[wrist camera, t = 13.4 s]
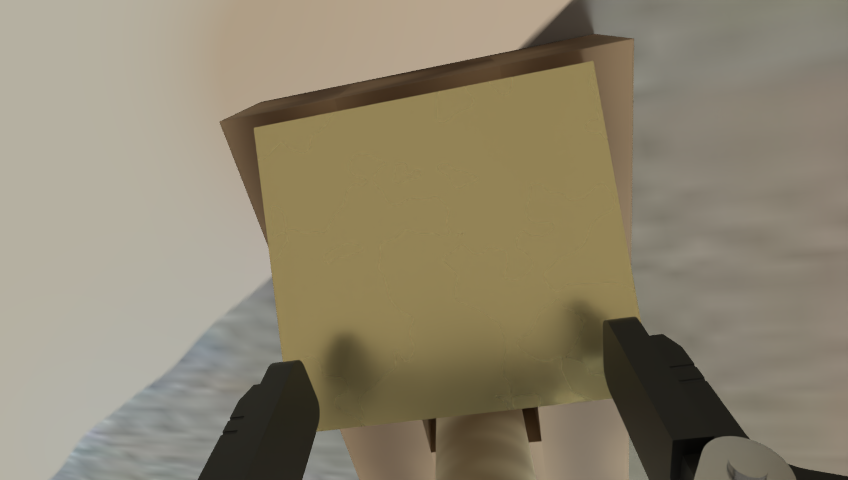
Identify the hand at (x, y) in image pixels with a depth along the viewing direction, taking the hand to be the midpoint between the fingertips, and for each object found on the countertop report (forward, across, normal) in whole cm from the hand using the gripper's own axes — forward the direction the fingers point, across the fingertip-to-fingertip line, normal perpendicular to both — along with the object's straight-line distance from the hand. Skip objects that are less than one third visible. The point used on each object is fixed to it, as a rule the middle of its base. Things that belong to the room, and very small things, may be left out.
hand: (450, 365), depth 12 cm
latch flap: (+4, 0, -1) cm, 4 cm away
